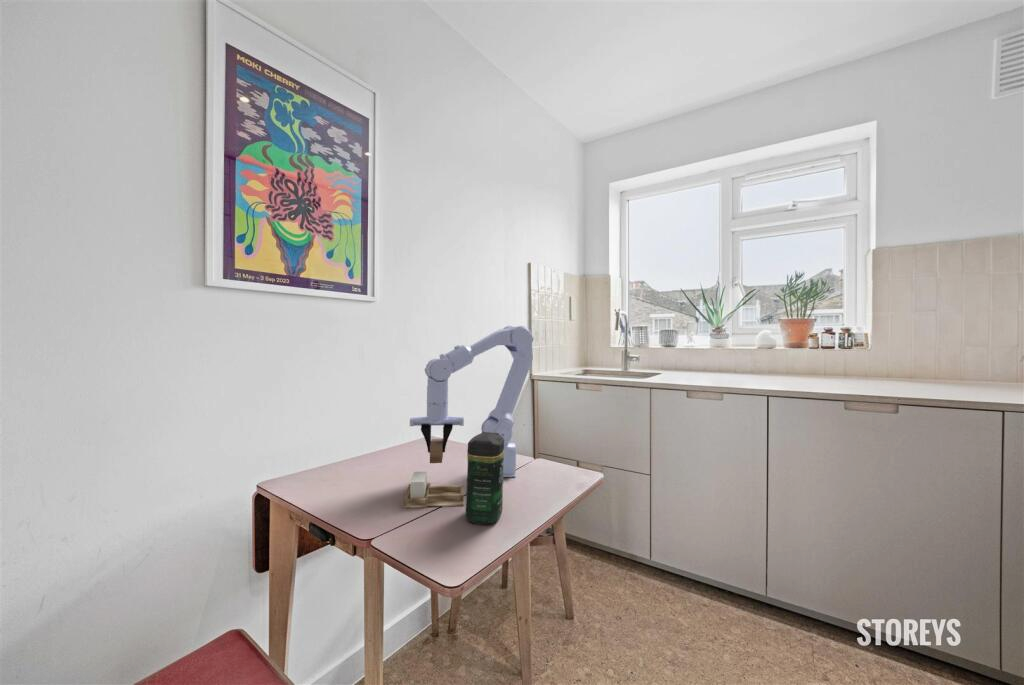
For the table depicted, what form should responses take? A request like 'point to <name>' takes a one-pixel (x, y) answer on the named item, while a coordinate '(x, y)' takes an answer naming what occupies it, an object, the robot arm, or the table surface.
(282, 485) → the table surface
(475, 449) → the coffee jar
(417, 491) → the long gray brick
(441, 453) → the tall wooden block
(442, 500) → the jig
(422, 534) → the table surface
